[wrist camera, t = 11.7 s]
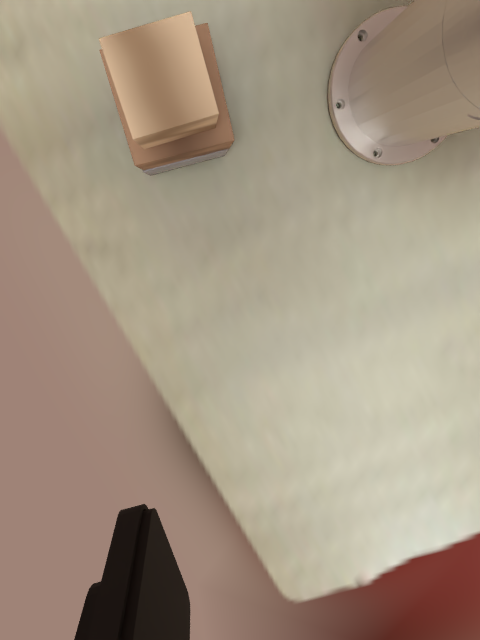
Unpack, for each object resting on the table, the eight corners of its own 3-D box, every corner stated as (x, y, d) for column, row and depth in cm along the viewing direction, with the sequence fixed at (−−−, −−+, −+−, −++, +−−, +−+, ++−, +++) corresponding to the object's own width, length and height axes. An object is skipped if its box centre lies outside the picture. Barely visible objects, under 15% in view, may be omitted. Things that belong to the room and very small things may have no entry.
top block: (205, 50, 30) (207, 22, 26) (229, 148, 33) (234, 140, 28) (115, 73, 30) (99, 49, 26) (144, 170, 32) (134, 165, 28)
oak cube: (192, 45, 26) (190, 11, 21) (215, 128, 27) (218, 113, 23) (117, 67, 26) (98, 38, 21) (144, 149, 27) (132, 139, 23)
